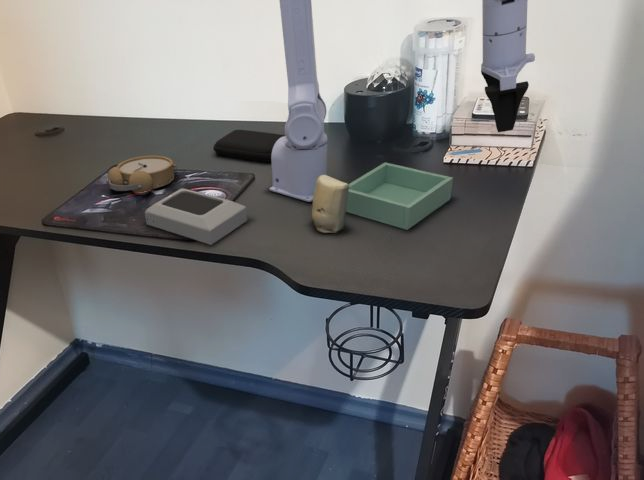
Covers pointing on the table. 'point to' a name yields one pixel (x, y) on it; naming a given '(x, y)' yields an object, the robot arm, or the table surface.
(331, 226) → the beige lumpy block
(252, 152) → the carrying case
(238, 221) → the grey box with screen
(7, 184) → the table surface
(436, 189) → the basin
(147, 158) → the alarm clock
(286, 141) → the robot arm
